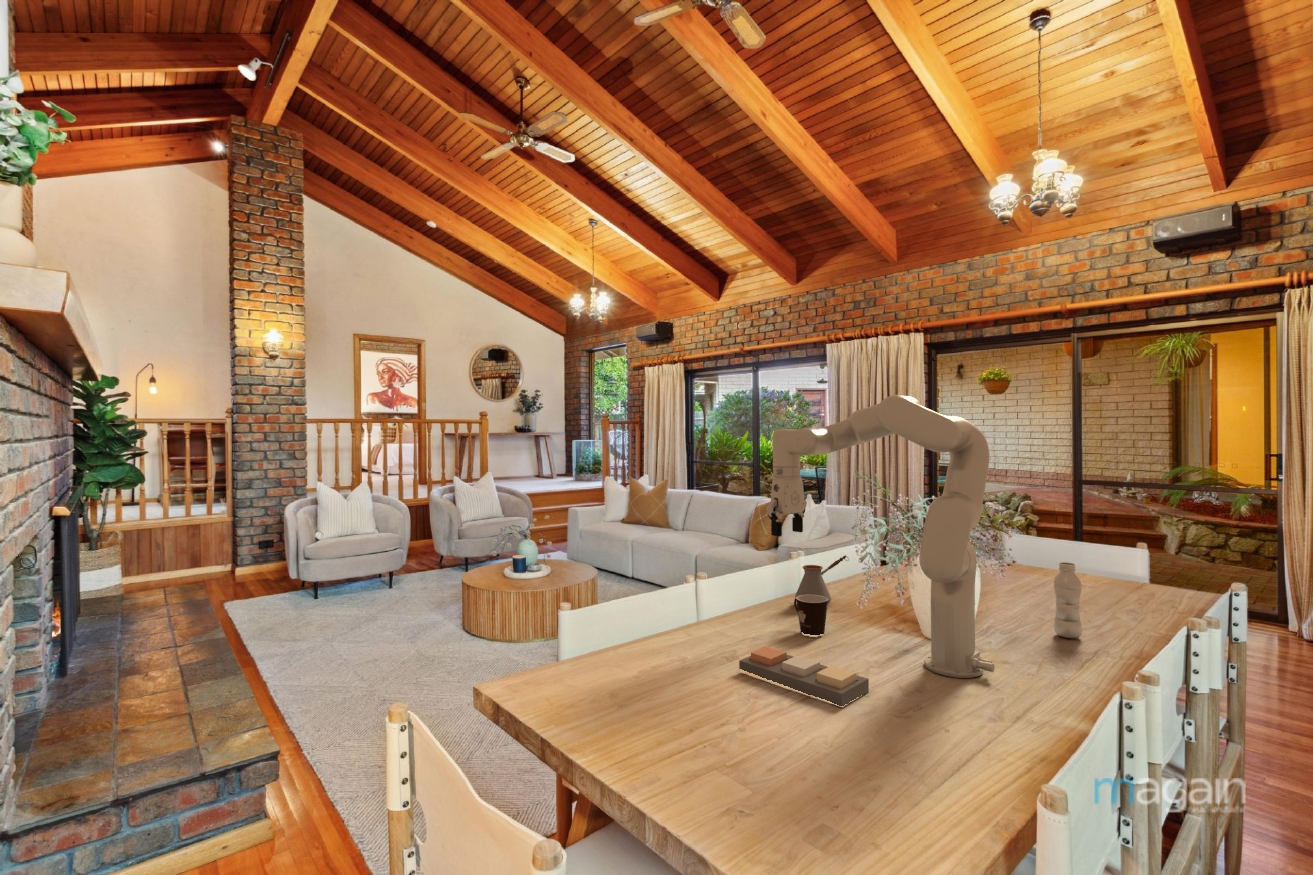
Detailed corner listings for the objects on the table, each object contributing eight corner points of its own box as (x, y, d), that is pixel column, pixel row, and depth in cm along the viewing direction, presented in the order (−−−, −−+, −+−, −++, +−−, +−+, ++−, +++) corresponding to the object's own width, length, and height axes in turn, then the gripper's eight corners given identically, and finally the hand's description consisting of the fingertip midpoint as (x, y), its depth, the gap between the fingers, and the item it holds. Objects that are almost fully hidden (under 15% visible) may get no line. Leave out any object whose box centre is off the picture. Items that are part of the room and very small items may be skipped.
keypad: (868, 692, 135) (868, 678, 135) (842, 708, 128) (842, 693, 128) (767, 660, 155) (767, 648, 155) (739, 673, 147) (739, 660, 147)
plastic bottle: (1073, 633, 172) (1072, 561, 172) (1087, 641, 165) (1086, 566, 165) (1048, 633, 172) (1047, 561, 172) (1062, 641, 166) (1061, 566, 166)
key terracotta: (786, 660, 148) (786, 652, 148) (771, 667, 144) (771, 658, 144) (766, 654, 152) (766, 646, 152) (750, 661, 148) (750, 652, 148)
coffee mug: (831, 639, 170) (831, 602, 170) (800, 639, 171) (799, 602, 171) (821, 625, 182) (820, 591, 182) (791, 626, 182) (791, 592, 182)
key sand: (856, 682, 135) (856, 672, 135) (841, 690, 131) (841, 680, 131) (831, 674, 139) (831, 665, 139) (816, 682, 135) (816, 672, 135)
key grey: (819, 670, 141) (819, 662, 141) (804, 678, 137) (804, 669, 137) (797, 664, 146) (797, 655, 146) (782, 671, 141) (782, 662, 141)
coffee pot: (812, 613, 195) (811, 565, 195) (787, 604, 205) (787, 559, 205) (861, 603, 205) (860, 558, 205) (835, 595, 215) (834, 552, 215)
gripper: (778, 475, 166) (779, 539, 166) (815, 471, 178) (816, 531, 178) (756, 474, 172) (757, 536, 172) (793, 470, 183) (794, 528, 183)
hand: (787, 533), depth 175 cm, fingers open, 9 cm apart
